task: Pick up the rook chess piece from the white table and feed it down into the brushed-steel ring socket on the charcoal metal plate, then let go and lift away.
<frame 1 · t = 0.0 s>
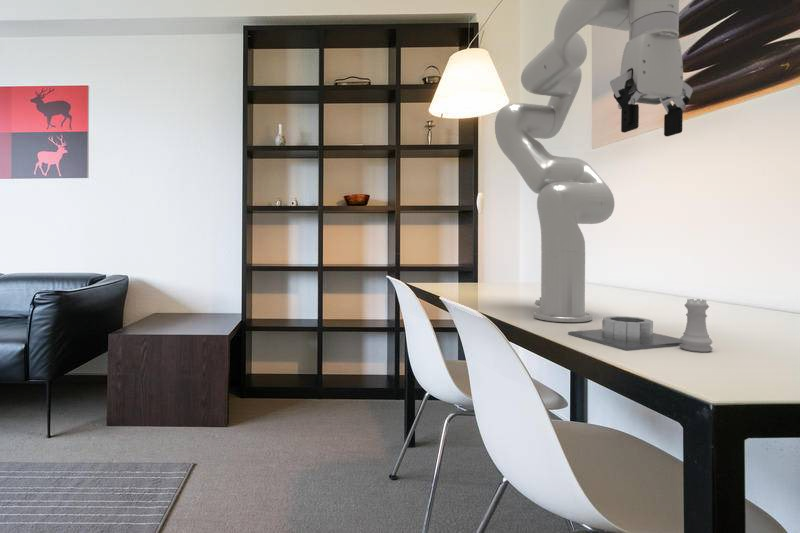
hand: (651, 132, 76), 37 cm above the table, tool pointing down, fingers open, 9 cm apart
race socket: (626, 339, 77), on the table
rook chess piece: (695, 350, 69), on the table
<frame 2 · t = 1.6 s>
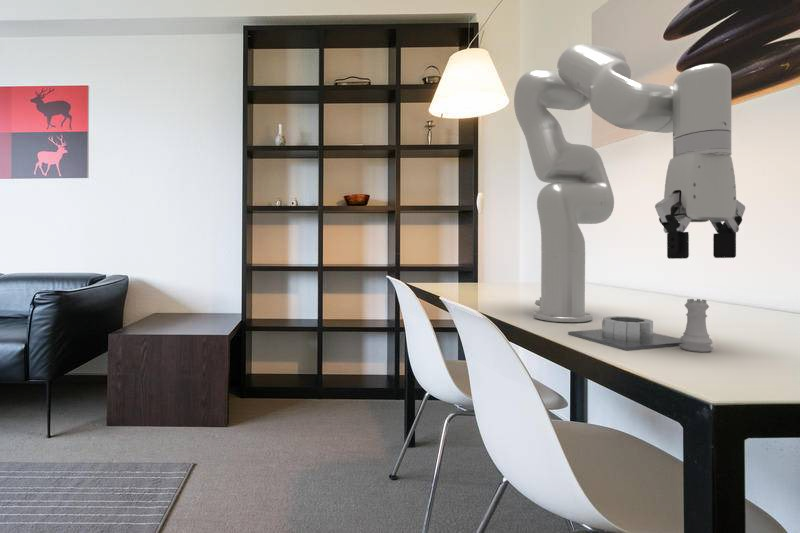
hand: (701, 258, 68), 15 cm above the table, tool pointing down, fingers open, 9 cm apart
nothing on the table moved.
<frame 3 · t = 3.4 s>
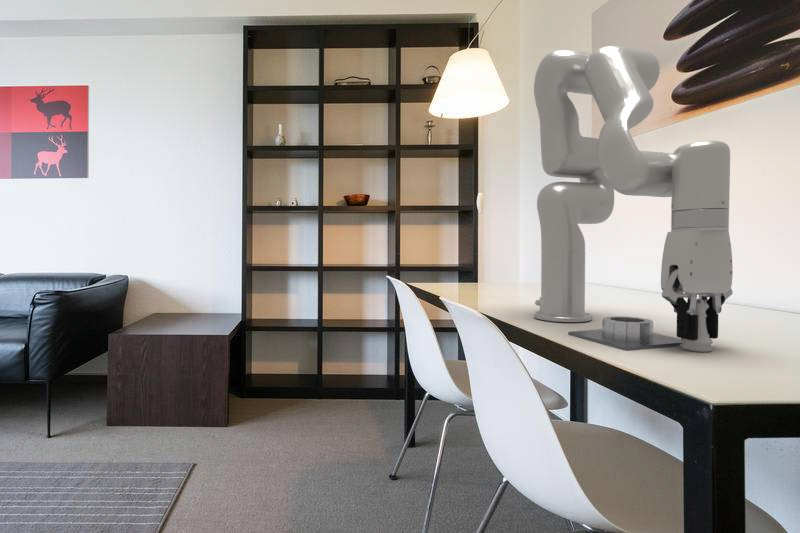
hand: (696, 336, 69), 2 cm above the table, tool pointing down, fingers closed on rook chess piece, 3 cm apart
rook chess piece: (696, 350, 69), on the table, touching gripper
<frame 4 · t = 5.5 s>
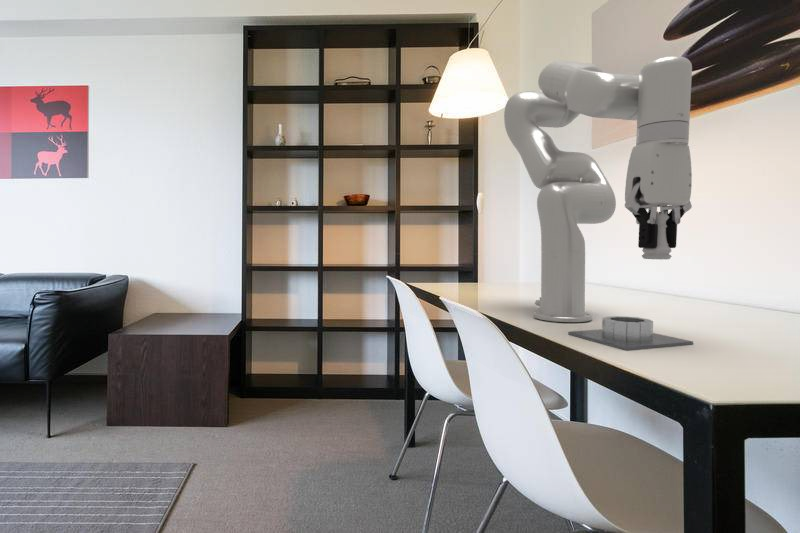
hand: (656, 246, 73), 16 cm above the table, tool pointing down, fingers closed on rook chess piece, 3 cm apart
rook chess piece: (656, 259, 74), point 14 cm above the table, touching gripper
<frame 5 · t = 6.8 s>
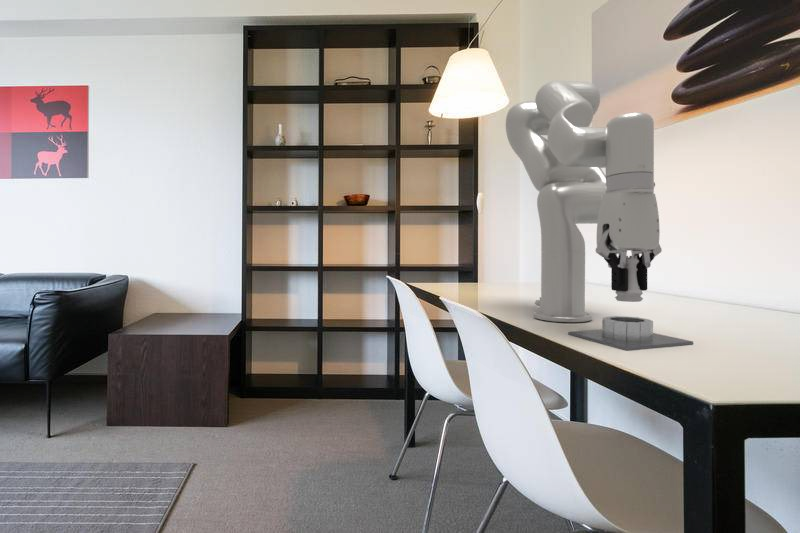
hand: (629, 289, 77), 9 cm above the table, tool pointing down, fingers closed on rook chess piece, 3 cm apart
rook chess piece: (628, 301, 77), point 7 cm above the table, touching gripper
when the fingers open (4 cm above the table, at t = 7.9 s): rook chess piece drops 1 cm, resting on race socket.
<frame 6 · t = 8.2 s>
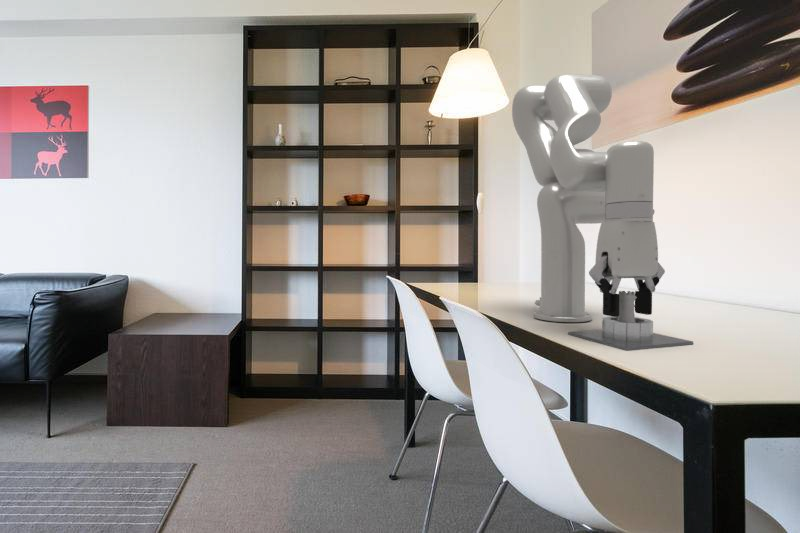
hand: (627, 313, 77), 5 cm above the table, tool pointing down, fingers open, 6 cm apart
rook chess piece: (625, 337, 78), resting on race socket
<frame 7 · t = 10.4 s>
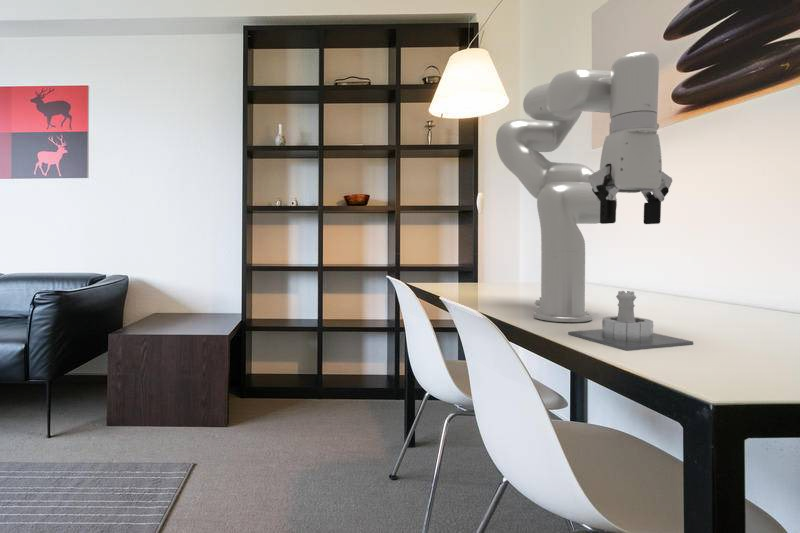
hand: (630, 223, 78), 21 cm above the table, tool pointing down, fingers open, 9 cm apart
nothing on the table moved.
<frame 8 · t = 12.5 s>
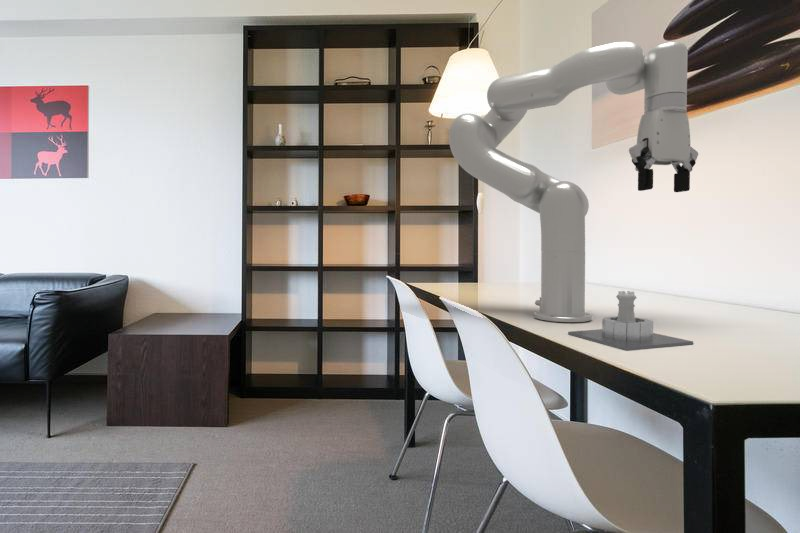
hand: (663, 190, 90), 28 cm above the table, tool pointing down, fingers open, 9 cm apart
nothing on the table moved.
at the end: rook chess piece 0.2 cm off-centre on the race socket, point 0.3 cm above the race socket's base; rook chess piece tilted 0°; the gripper is holding nothing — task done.
